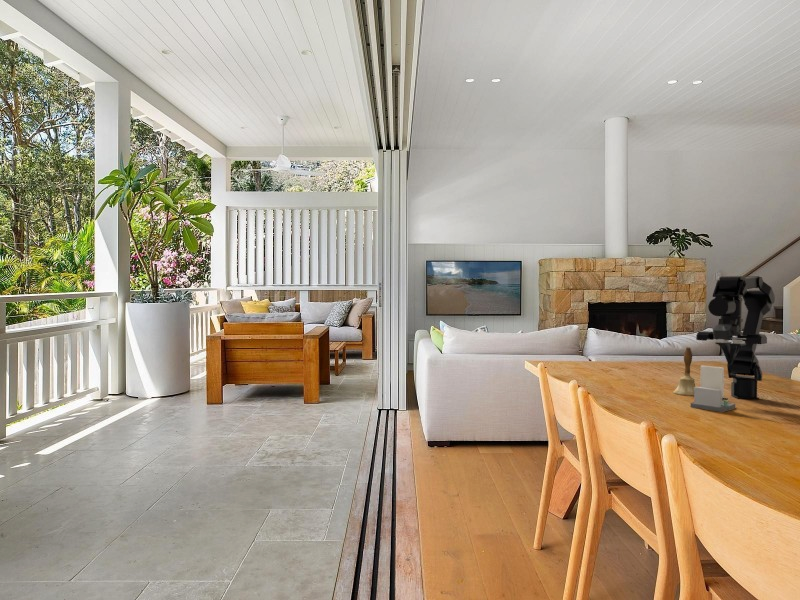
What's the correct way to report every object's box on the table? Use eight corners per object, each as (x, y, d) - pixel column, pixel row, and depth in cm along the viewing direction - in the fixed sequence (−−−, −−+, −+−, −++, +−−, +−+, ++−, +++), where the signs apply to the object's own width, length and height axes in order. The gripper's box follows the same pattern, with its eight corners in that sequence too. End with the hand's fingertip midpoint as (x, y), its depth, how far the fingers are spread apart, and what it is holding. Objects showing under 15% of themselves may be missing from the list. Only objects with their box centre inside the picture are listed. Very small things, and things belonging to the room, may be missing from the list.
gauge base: (703, 403, 175) (704, 383, 175) (735, 407, 168) (735, 387, 168) (690, 407, 169) (690, 386, 169) (722, 412, 162) (723, 390, 162)
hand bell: (694, 391, 195) (694, 346, 195) (704, 396, 187) (705, 349, 187) (669, 391, 196) (670, 346, 196) (678, 395, 188) (679, 348, 188)
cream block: (697, 400, 172) (697, 364, 172) (728, 405, 165) (729, 368, 165) (695, 400, 171) (695, 365, 171) (726, 405, 164) (727, 368, 164)
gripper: (689, 315, 178) (688, 363, 179) (754, 317, 164) (754, 370, 164) (703, 314, 186) (703, 361, 186) (768, 316, 171) (767, 367, 171)
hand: (730, 364), depth 177 cm, fingers closed
